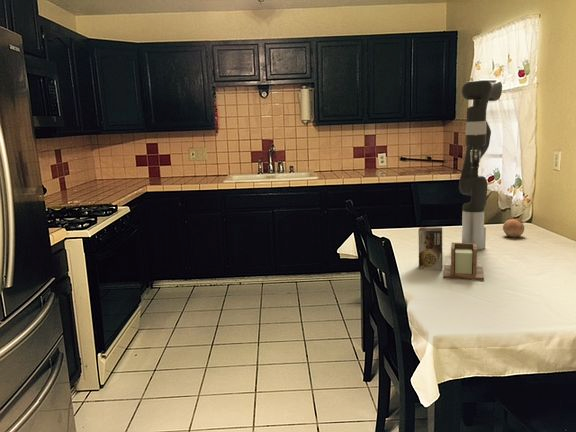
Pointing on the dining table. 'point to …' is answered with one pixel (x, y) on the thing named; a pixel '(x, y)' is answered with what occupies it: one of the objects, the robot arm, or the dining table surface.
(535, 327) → the dining table surface
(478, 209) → the robot arm
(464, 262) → the block
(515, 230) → the onion
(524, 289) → the dining table surface
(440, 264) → the coffee box
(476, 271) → the chute
